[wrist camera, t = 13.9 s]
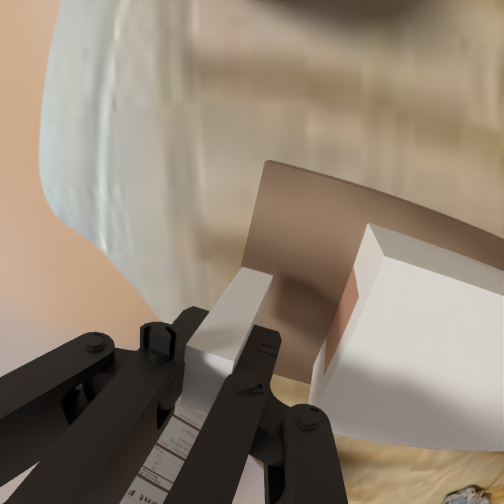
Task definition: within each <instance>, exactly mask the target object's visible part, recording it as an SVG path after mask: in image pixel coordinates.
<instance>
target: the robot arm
mask: <svg viewBox="0 0 504 504" xmlns="http://www.w3.org/2000/svg"><path fill="white" fill-rule="evenodd" d="M272 278H273V275H270V274H266V273H263V272H259V271H256V270H252V269H249V268H245V267H242V268H241V269H240V271H239V272H238V273H237V275H236V276H235V277H234V279H233V280H232V282H231V283H230V284H229V286H228V287H227V289H226V290H225V291H224V293H223V294H222V296H221V297H220V298H219V300H218V301H217V302H216V304H215V305H214V307H213V308H212V309H211V311H207V310H204V309H201V308H198V307H195V306H192V307H190V308H188V309H186V310H183V312H182V313H181V314H180V315H179V316H178V318H177V319H176V320H175V321H174V322H173V324H171V325H170V324H168V323H163V322H150V323H146V324H144V325H143V326H141V327H140V348H139V349H138V350H137V351H133V350H125V349H120V348H115V345H114V341H113V340H112V339H111V338H110V337H109V336H108V335H106V334H104V333H99V332H89V333H86V334H83V335H81V336H79V337H77V338H75V339H73V340H71V341H69V342H67V343H65V344H63V345H61V346H60V347H58V348H56V349H54V350H52V351H50V352H48V353H46V354H44V355H42V356H40V357H38V358H36V359H35V360H33V361H31V362H29V363H27V364H25V365H23V366H21V367H19V368H17V369H15V370H14V371H11V372H10V373H8V374H6V375H4V376H2V377H0V487H1V486H3V485H5V484H6V483H8V482H9V481H11V480H12V479H14V478H15V477H17V476H18V475H20V474H21V473H23V472H24V471H26V470H27V469H29V468H30V467H32V466H33V465H35V464H36V463H37V462H39V461H40V460H41V461H40V462H39V463H38V464H37V465H36V466H35V468H34V469H33V470H32V471H31V472H30V474H29V475H28V476H27V477H26V478H25V479H24V481H23V482H22V483H21V484H20V485H19V486H18V488H17V489H16V490H15V491H14V493H13V494H12V495H11V496H10V497H9V498H8V500H7V501H6V502H4V503H3V504H120V502H121V500H122V499H123V497H124V495H125V494H126V492H127V491H128V489H129V487H130V486H131V484H132V482H133V481H134V479H135V478H136V476H137V474H138V473H139V471H140V469H141V468H142V466H143V464H144V463H145V461H146V459H147V458H148V456H149V454H150V453H151V451H152V449H153V448H154V446H155V444H156V443H157V441H158V440H159V438H160V436H161V435H162V433H163V431H164V430H165V428H166V426H167V425H168V423H169V421H170V419H171V418H172V416H173V414H174V411H175V403H176V402H177V400H178V398H179V397H180V395H181V397H180V404H182V405H185V406H187V407H190V408H193V409H196V410H198V411H201V412H204V413H207V414H208V415H207V417H206V419H205V421H204V424H203V426H202V428H201V430H200V432H199V434H198V436H197V438H196V440H195V442H194V444H193V446H192V448H191V450H190V452H189V454H188V456H187V458H186V460H185V461H184V463H183V465H182V467H181V469H180V471H179V473H178V475H177V477H176V479H175V481H174V483H173V485H172V487H171V489H170V491H169V493H168V495H167V496H166V498H165V500H164V502H163V504H232V501H233V498H234V496H235V493H236V490H237V487H238V484H239V481H240V478H241V475H242V472H243V469H244V466H245V463H246V460H247V457H248V454H250V455H252V456H253V457H255V458H257V459H258V460H260V461H262V462H263V463H264V487H265V504H348V500H347V495H346V491H345V486H344V481H343V477H342V472H341V467H340V463H339V458H338V454H337V449H336V445H335V441H334V436H333V432H332V428H331V423H330V420H329V418H328V416H327V414H326V413H325V412H323V411H322V410H321V409H320V408H318V407H316V406H314V405H309V404H297V405H294V406H292V407H289V406H287V405H286V404H284V403H282V402H281V401H279V400H278V399H277V398H276V397H275V396H274V395H273V393H272V391H271V388H270V381H271V378H272V374H273V371H274V367H275V364H276V360H277V356H278V353H279V349H280V346H281V342H282V339H281V336H280V333H279V331H275V330H272V329H268V328H265V327H261V326H260V324H261V321H262V317H263V313H264V309H265V305H266V302H267V298H268V294H269V290H270V286H271V282H272ZM80 384H81V385H80Z"/></svg>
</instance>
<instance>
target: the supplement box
mask: <svg viewBox="0 0 504 504" xmlns="http://www.w3.org/2000/svg"><path fill="white" fill-rule="evenodd" d="M180 397H181V395H180ZM180 397H179V398H178V400H177V402H176V403H175V411H174V414H173V416H172V418H171V419H170V421H169V423H168V425H167V426H166V428H165V430H164V431H163V433H162V435H161V436H160V438H159V440H158V441H157V443H156V444H155V446H154V448H153V449H152V451H151V453H150V454H149V456H148V458H147V459H146V461H145V463H144V464H143V466H142V468H141V469H140V471H139V473H138V474H137V476H136V478H135V479H134V481H133V482H132V484H131V486H130V487H129V489H128V491H127V492H126V494H125V495H124V497H123V499H122V500H121V502H120V504H163V502H164V500H165V498H166V496H167V495H168V493H169V491H170V489H171V487H172V485H173V483H174V481H175V479H176V477H177V475H178V473H179V471H180V469H181V467H182V465H183V463H184V461H185V460H186V458H187V456H188V454H189V452H190V450H191V448H192V446H193V444H194V442H195V440H196V438H197V436H198V434H199V432H200V430H201V428H202V426H203V424H204V421H205V419H206V417H207V415H208V414H207V413H204V412H201V411H198V410H196V409H193V408H190V407H187V406H185V405H182V404H180Z"/></svg>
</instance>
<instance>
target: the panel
mask: <svg viewBox="0 0 504 504" xmlns="http://www.w3.org/2000/svg"><path fill="white" fill-rule="evenodd" d="M308 404H309V405H314V406H316V407H318V408H320V409H321V410H322V411H323V412H325V413H326V414H327V416H328V418H329V420H330V423H331V428H332V432H333V434H336V435H341V436H346V437H351V438H357V439H362V440H368V441H374V442H380V443H387V444H394V445H402V446H410V447H419V448H429V449H442V450H458V451H504V271H502V270H499V269H497V268H494V267H492V266H489V265H487V264H484V263H482V262H479V261H476V260H474V259H471V258H469V257H466V256H463V255H460V254H458V253H455V252H452V251H450V250H447V249H444V248H441V247H439V246H436V245H433V244H430V243H427V242H424V241H422V240H419V239H416V238H413V237H410V236H407V235H404V234H401V233H398V232H395V231H392V230H389V229H386V228H383V227H380V226H377V225H374V224H371V223H368V224H367V227H366V230H365V233H364V236H363V239H362V242H361V245H360V248H359V251H358V254H357V257H356V260H355V262H354V265H353V268H352V271H351V274H350V276H349V279H348V282H347V284H346V287H345V290H344V292H343V295H342V298H341V300H340V303H339V306H338V308H337V311H336V313H335V316H334V318H333V321H332V323H331V326H330V328H329V330H328V333H327V335H326V338H325V340H324V342H323V345H322V347H321V350H320V352H319V354H318V356H317V359H316V361H315V363H314V366H313V373H312V381H311V389H310V396H309V403H308Z"/></svg>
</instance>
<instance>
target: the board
mask: <svg viewBox="0 0 504 504" xmlns="http://www.w3.org/2000/svg"><path fill="white" fill-rule="evenodd" d="M368 223H371V224H374V225H377V226H380V227H383V228H386V229H389V230H392V231H395V232H398V233H401V234H404V235H407V236H410V237H413V238H416V239H419V240H422V241H424V242H427V243H430V244H433V245H436V246H439V247H441V248H444V249H447V250H450V251H452V252H455V253H458V254H460V255H463V256H466V257H469V258H471V259H474V260H476V261H479V262H482V263H484V264H487V265H489V266H492V267H494V268H497V269H499V270H502V271H504V239H503V238H500V237H498V236H496V235H494V234H491V233H489V232H487V231H484V230H482V229H480V228H477V227H475V226H472V225H470V224H468V223H465V222H463V221H460V220H458V219H455V218H453V217H450V216H447V215H445V214H442V213H440V212H437V211H434V210H432V209H429V208H426V207H424V206H421V205H418V204H415V203H412V202H410V201H407V200H404V199H401V198H398V197H395V196H392V195H389V194H386V193H383V192H380V191H377V190H374V189H371V188H368V187H365V186H361V185H358V184H355V183H352V182H349V181H345V180H342V179H338V178H335V177H332V176H328V175H325V174H321V173H318V172H314V171H310V170H307V169H303V168H299V167H296V166H292V165H288V164H284V163H280V162H276V161H272V160H269V161H265V164H264V168H263V173H262V177H261V181H260V186H259V190H258V194H257V199H256V203H255V208H254V212H253V216H252V221H251V225H250V229H249V234H248V238H247V243H246V247H245V252H244V256H243V260H242V265H241V268H242V267H245V268H249V269H252V270H256V271H259V272H263V273H266V274H270V275H273V278H272V282H271V286H270V290H269V294H268V298H267V302H266V305H265V309H264V313H263V317H262V321H261V324H260V326H261V327H265V328H268V329H272V330H275V331H279V333H280V336H281V339H282V342H281V346H280V349H279V353H278V356H277V360H276V364H275V367H274V371H273V374H276V375H279V376H282V377H286V378H289V379H293V380H297V381H300V382H304V383H308V384H311V381H312V373H313V366H314V363H315V361H316V359H317V356H318V354H319V352H320V350H321V347H322V345H323V342H324V340H325V338H326V335H327V333H328V330H329V328H330V326H331V323H332V321H333V318H334V316H335V313H336V311H337V308H338V306H339V303H340V300H341V298H342V295H343V292H344V290H345V287H346V284H347V282H348V279H349V276H350V274H351V271H352V268H353V265H354V262H355V260H356V257H357V254H358V251H359V248H360V245H361V242H362V239H363V236H364V233H365V230H366V227H367V224H368Z"/></svg>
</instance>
